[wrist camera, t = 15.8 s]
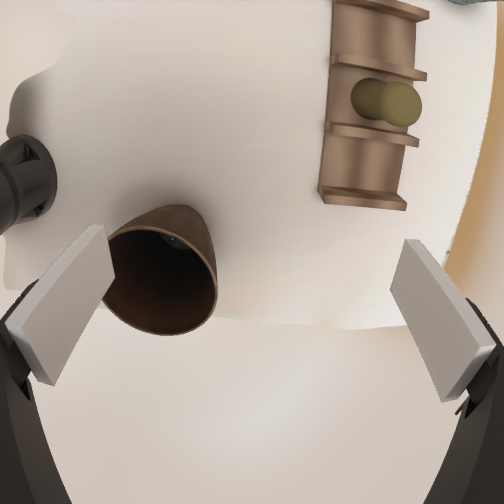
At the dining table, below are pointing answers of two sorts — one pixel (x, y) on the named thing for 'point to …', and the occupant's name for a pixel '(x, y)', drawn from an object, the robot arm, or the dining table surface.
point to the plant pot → (163, 272)
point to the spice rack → (348, 120)
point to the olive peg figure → (386, 101)
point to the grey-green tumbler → (470, 1)
